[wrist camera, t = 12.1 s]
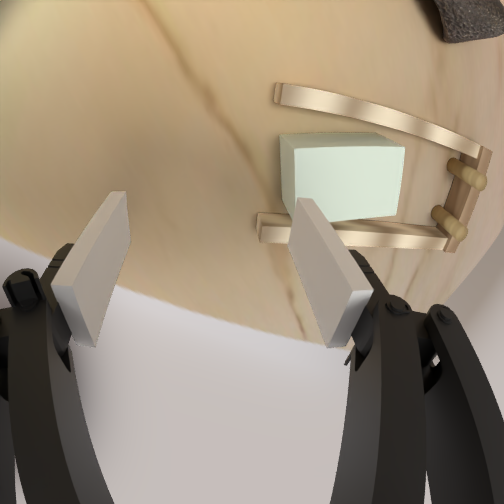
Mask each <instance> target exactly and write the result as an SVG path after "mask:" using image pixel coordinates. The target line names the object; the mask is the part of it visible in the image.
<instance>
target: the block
mask: <svg viewBox="0 0 504 504" xmlns="http://www.w3.org/2000/svg"><path fill="white" fill-rule="evenodd" d="M279 140H280V162H281V189H282V201H283V203H284V205H285V207H286V209H287V211H288V213H289V215H290V217H291V219H292V221H293V216H294V211H295V206H296V201H297V197H300V198H312V199H313V200H314V202H315V203H316V204H317V206H318V207H319V209H320V210H321V211H322V213H323V214H324V216H325V217H326V218H327V220H328V221H329V222H336V221H345V220H354V219H363V218H373V217H382V216H392V215H396V211H397V206H398V199H399V193H400V186H401V179H402V171H403V163H404V154H405V147H404V146H402V145H400V144H398V143H396V142H394V141H392V140H390V139H388V138H386V137H384V136H382V135H379V134H377V133H366V132H328V133H299V134H282V135H279Z"/></svg>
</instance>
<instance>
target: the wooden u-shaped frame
mask: <svg viewBox="0 0 504 504" xmlns="http://www.w3.org/2000/svg"><path fill="white" fill-rule="evenodd" d="M274 102H276V103H278V104H280V105H288V106H294V107H301V108H307V109H312V110H318V111H323V112H328V113H333V114H338V115H343V116H347V117H352V118H356V119H360V120H364V121H368V122H372V123H376V124H379V125H383V126H387V127H390V128H394V129H397V130H400V131H404V132H407V133H410V134H413V135H416V136H419V137H422V138H425V139H428V140H431V141H434V142H436V143H439V144H442V145H444V146H447V147H450V148H452V149H455V150H457V151H460V152H462V153H461V157H460V160H458V159H456V158H451V159H450V160H449V161H448V164H447V169H448V171H449V172H450V173H452V174H454V175H455V177H454V180H453V183H452V186H451V189H450V192H449V195H448V198H447V201H446V203H445V206H444V208H443V207H441V206H440V205H437V206H435V207H434V208H433V210H432V212H431V216H432V218H433V219H434V220H435V221H436V222H438V224H437V227H429V226H420V225H411V224H401V223H391V222H381V221H370V220H359V219H354V220H345V221H336V222H329V223H330V224H331V226H332V227H333V228H334V230H335V231H336V233H337V234H338V236H339V237H340V239H341V240H342V242H343V243H344V245H345V246H368V247H391V248H413V249H434V250H443V251H444V252H449V253H455V251H456V249H457V247H458V245H459V243H460V242H461V241H463V240H464V239H465V238H466V236H467V233H468V229H467V228H466V227H467V224H468V222H469V220H470V217H471V215H472V212H473V210H474V207H475V204H476V202H477V199H478V196H479V193H480V191H483V190H484V189H485V187H486V185H487V177H486V172H487V169H488V166H489V163H490V159H491V156H492V152H493V151H491V150H489V149H487V148H485V147H483V146H481V145H479V144H477V143H475V142H473V141H471V140H469V139H467V138H465V137H462V136H460V135H458V134H456V133H454V132H451V131H449V130H447V129H444V128H442V127H440V126H437V125H435V124H432V123H430V122H427V121H424V120H422V119H419V118H416V117H414V116H411V115H408V114H405V113H402V112H399V111H396V110H393V109H390V108H387V107H384V106H381V105H377V104H374V103H370V102H367V101H363V100H360V99H356V98H352V97H348V96H344V95H340V94H335V93H331V92H327V91H322V90H317V89H312V88H307V87H301V86H295V85H289V84H283V83H276V87H275V95H274ZM291 226H292V219H291V217H290V215H289V214H275V213H258V217H257V224H256V230H257V234H258V237H259V241H260V243H288V241H289V236H290V231H291Z"/></svg>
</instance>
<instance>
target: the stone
mask: <svg viewBox="0 0 504 504" xmlns="http://www.w3.org/2000/svg"><path fill="white" fill-rule="evenodd" d="M434 1H435V3H436V5H437V7H438V9H439V12H440V15H441V21H442V24H443V27H444V30H443V39H444V40H445V41H446V42H447V43H459V42H465V41H472V40H479V39H486V38H493V37H497V36H500V35H502V34H504V6H503V5H502V3H501V2H500V0H434Z"/></svg>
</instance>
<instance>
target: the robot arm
mask: <svg viewBox="0 0 504 504" xmlns="http://www.w3.org/2000/svg"><path fill="white" fill-rule="evenodd" d="M130 243H131V237H130V228H129V219H128V208H127V196H126V191H111V192H110V194H109V195H108V196H107V198H106V199H105V200H104V202H103V203H102V204H101V206H100V207H99V209H98V210H97V211H96V213H95V214H94V216H93V217H92V218H91V220H90V221H89V223H88V224H87V226H86V227H85V229H84V230H83V232H82V233H81V235H80V236H79V238H78V239H77V241H76V243H75V244H69V243H67V244H66V245H64V246H63V247H62V248H61V249H59V250H58V251H57V253H56V254H55V256H54V257H53V259H52V261H51V262H50V264H49V265H48V268H46V270H45V272H44V273H43V275H42V277H41V278H40V279H39V277H38V274H37V272H36V271H34V270H33V269H29V268H27V269H21V270H18V271H16V272H14V273H12V274H11V275H10V276H9V277H8V278H7V279H6V280H5V282H4V284H3V289H4V292H5V294H6V296H7V298H8V300H9V302H10V304H11V306H12V307H10V308H5V309H0V504H16V492H15V458H16V463H17V468H18V473H19V477H20V481H21V485H22V489H23V493H24V496H25V500H26V503H27V504H114V502H113V499H112V497H111V495H110V493H109V490H108V488H107V485H106V483H105V480H104V477H103V475H102V472H101V469H100V467H99V464H98V461H97V458H96V455H95V452H94V449H93V445H92V442H91V439H90V435H89V432H88V428H87V425H86V421H85V417H84V413H83V409H82V405H81V400H80V396H79V391H78V386H77V381H76V375H75V370H74V363H73V357H72V351H71V349H70V346H69V345H68V343H69V340H70V337H71V335H72V337H73V338H74V341H75V343H76V345H80V346H89V347H96V344H97V340H98V337H99V333H100V330H101V327H102V323H103V320H104V317H105V313H106V310H107V307H108V304H109V301H110V298H111V295H112V292H113V289H114V286H115V283H116V281H117V278H118V275H119V272H120V269H121V267H122V264H123V261H124V259H125V256H126V254H127V251H128V248H129V246H130ZM288 248H289V251H290V253H291V256H292V258H293V261H294V263H295V266H296V268H297V271H298V273H299V276H300V279H301V281H302V284H303V286H304V289H305V291H306V294H307V297H308V299H309V302H310V304H311V307H312V310H313V312H314V315H315V318H316V320H317V323H318V326H319V328H320V331H321V334H322V336H323V339H324V342H325V344H326V347H327V348H334V347H343V346H346V345H347V343H348V341H349V339H350V337H351V336H352V338H353V340H354V342H355V345H354V347H353V349H352V350H351V352H350V354H349V356H348V357H347V359H346V361H345V364H344V365H347V364H348V363H349V361H350V360H351V364H350V376H349V387H348V398H347V406H346V415H345V423H344V430H343V437H342V443H341V450H340V456H339V462H338V467H337V472H336V478H335V483H334V487H333V493H332V497H331V501H330V504H424V496H425V482H426V471H427V476H428V482H429V487H430V495H431V501H432V504H504V420H503V418H502V415H501V412H500V409H499V406H498V404H497V402H496V399H495V396H494V394H493V391H492V388H491V386H490V384H489V381H488V379H487V377H486V374H485V372H484V370H483V368H482V365H481V363H480V361H479V359H478V357H477V355H476V353H475V350H474V349H473V346H472V345H471V342H470V340H469V339H468V337H467V335H466V333H465V331H464V329H463V327H462V325H461V323H460V322H459V320H458V318H457V316H456V315H455V314H454V312H453V311H452V310H450V308H448V307H446V306H444V305H440V304H435V305H433V306H431V308H430V309H429V311H428V312H427V314H426V313H420V312H415V311H412V309H411V307H410V306H409V304H408V303H407V302H406V301H405V300H403V299H402V298H400V297H398V296H395V295H389V293H388V292H387V290H386V289H385V287H384V286H383V284H382V283H381V281H380V280H379V278H378V277H377V275H376V274H374V271H373V269H372V268H371V267H370V265H369V263H368V262H367V260H366V259H365V258H364V257H363V256H362V255H361V254H360V253H358V252H357V251H356V250H348V249H347V247H346V246H345V245H344V243H343V242H342V240H341V239H340V237H339V236H338V234H337V233H336V231H335V230H334V228H333V227H332V226H331V224H330V223H329V221H328V220H327V218H326V217H325V216H324V214H323V213H322V211H321V210H320V209H319V207H318V206H317V204H316V203H315V202H314V200H313V199H312V198H300V197H297V201H296V206H295V211H294V216H293V221H292V226H291V231H290V236H289V241H288ZM436 355H438V357H439V360H440V362H439V363H438V364H437V365H436V366H435V365H434V363H433V361H432V360H433V359H434V358H435V357H436Z"/></svg>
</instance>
